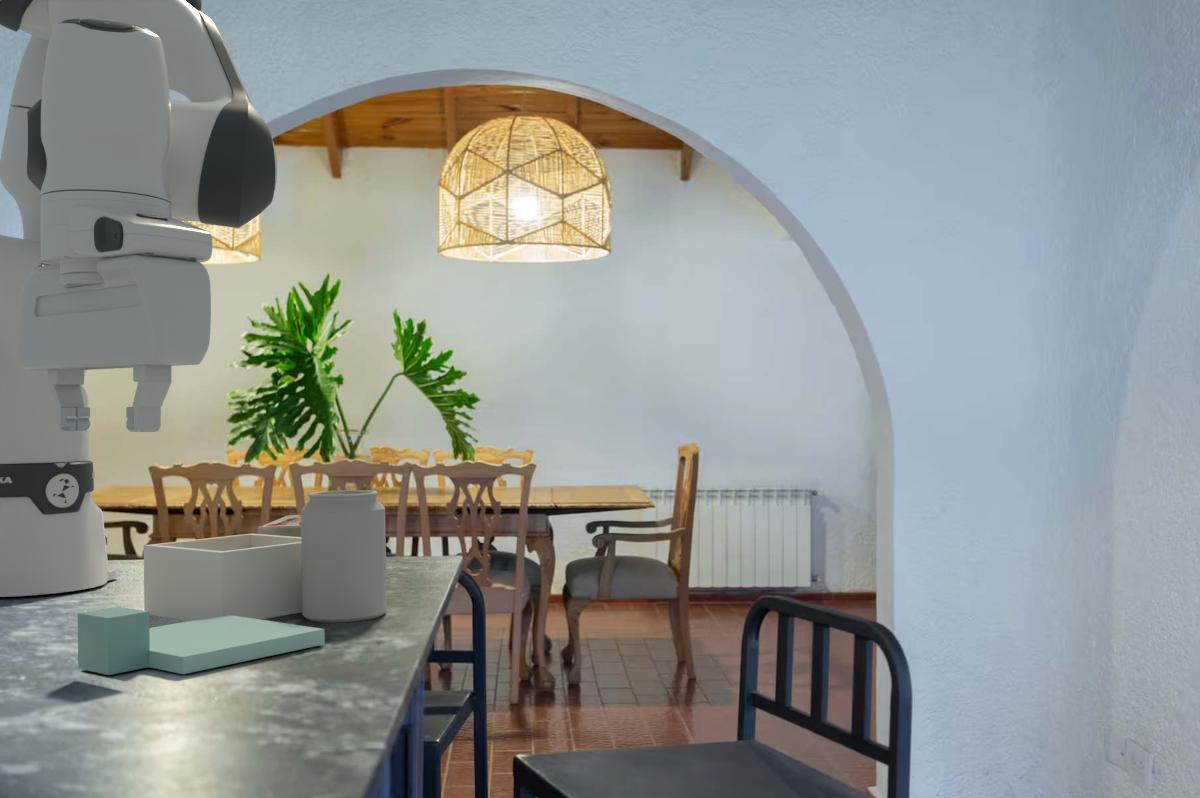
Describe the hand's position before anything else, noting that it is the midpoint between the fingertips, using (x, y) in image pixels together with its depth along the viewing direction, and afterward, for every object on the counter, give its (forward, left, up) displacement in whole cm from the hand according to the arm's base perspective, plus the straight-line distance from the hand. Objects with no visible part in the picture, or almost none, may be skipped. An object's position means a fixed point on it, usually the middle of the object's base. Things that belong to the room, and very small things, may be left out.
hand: (107, 431), depth 85 cm
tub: (-14, +21, -18) cm, 31 cm away
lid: (0, +6, -18) cm, 19 cm away
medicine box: (-22, +36, -18) cm, 46 cm away
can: (-3, +25, -18) cm, 31 cm away
